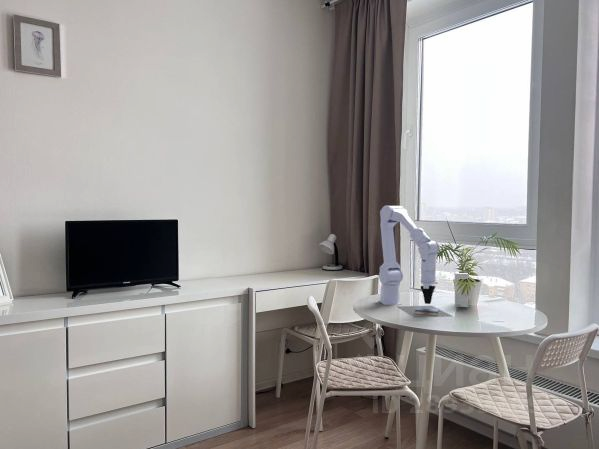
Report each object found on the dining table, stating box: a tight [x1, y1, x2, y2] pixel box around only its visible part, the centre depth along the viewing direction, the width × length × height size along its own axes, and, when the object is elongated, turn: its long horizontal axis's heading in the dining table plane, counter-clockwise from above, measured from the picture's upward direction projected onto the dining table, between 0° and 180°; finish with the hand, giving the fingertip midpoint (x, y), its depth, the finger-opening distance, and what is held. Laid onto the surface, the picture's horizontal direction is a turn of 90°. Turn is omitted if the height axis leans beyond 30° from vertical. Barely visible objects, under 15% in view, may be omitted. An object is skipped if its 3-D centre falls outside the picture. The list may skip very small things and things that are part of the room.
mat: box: [396, 305, 453, 318], centre depth 192 cm, size 20×16×1 cm
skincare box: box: [454, 271, 470, 308], centre depth 204 cm, size 8×6×15 cm
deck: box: [415, 307, 440, 316], centre depth 188 cm, size 9×2×6 cm
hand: (427, 303), depth 190 cm, fingers closed
